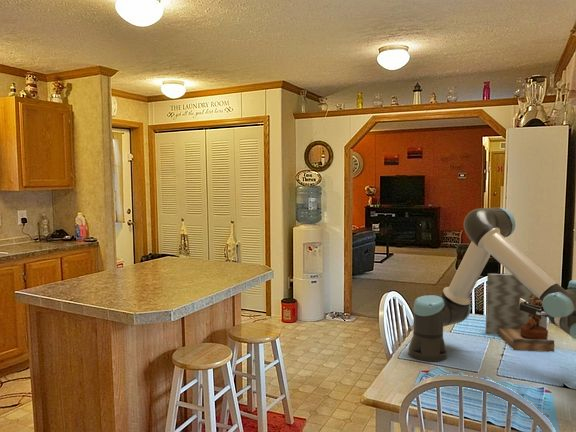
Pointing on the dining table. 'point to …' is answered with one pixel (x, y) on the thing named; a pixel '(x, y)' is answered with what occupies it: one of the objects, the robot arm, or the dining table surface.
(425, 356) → the robot arm
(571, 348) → the dining table surface
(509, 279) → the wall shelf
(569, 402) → the dining table surface
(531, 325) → the brown curved piece
